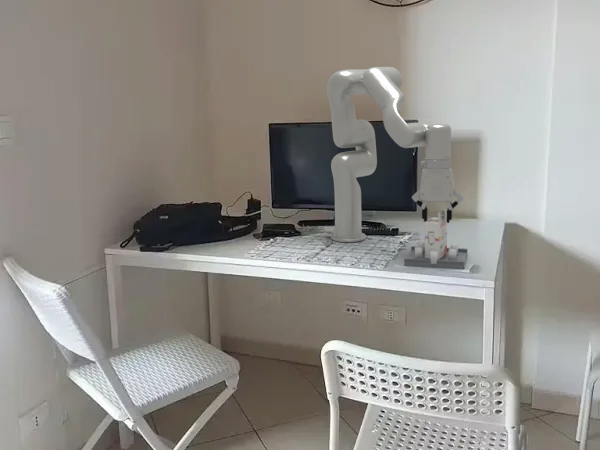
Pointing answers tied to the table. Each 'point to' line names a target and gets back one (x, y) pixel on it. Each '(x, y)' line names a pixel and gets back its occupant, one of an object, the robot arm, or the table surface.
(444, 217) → the ink cartridge box
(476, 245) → the table surface
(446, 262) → the tray
